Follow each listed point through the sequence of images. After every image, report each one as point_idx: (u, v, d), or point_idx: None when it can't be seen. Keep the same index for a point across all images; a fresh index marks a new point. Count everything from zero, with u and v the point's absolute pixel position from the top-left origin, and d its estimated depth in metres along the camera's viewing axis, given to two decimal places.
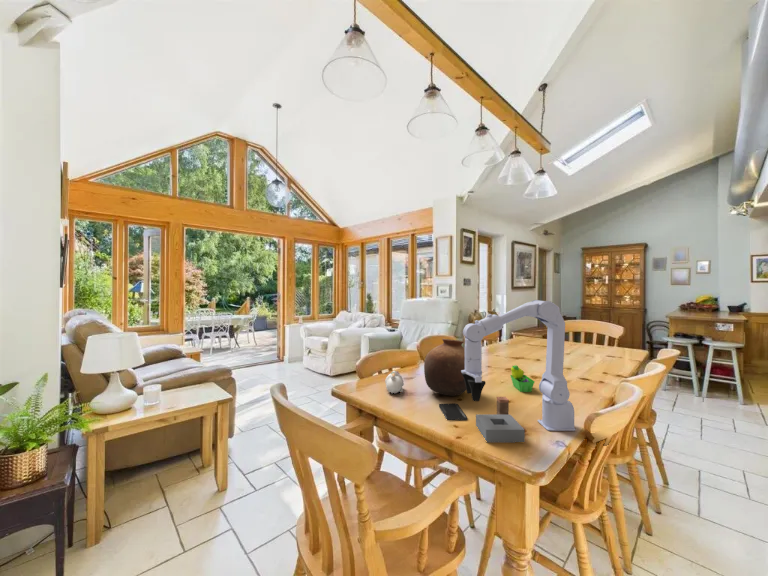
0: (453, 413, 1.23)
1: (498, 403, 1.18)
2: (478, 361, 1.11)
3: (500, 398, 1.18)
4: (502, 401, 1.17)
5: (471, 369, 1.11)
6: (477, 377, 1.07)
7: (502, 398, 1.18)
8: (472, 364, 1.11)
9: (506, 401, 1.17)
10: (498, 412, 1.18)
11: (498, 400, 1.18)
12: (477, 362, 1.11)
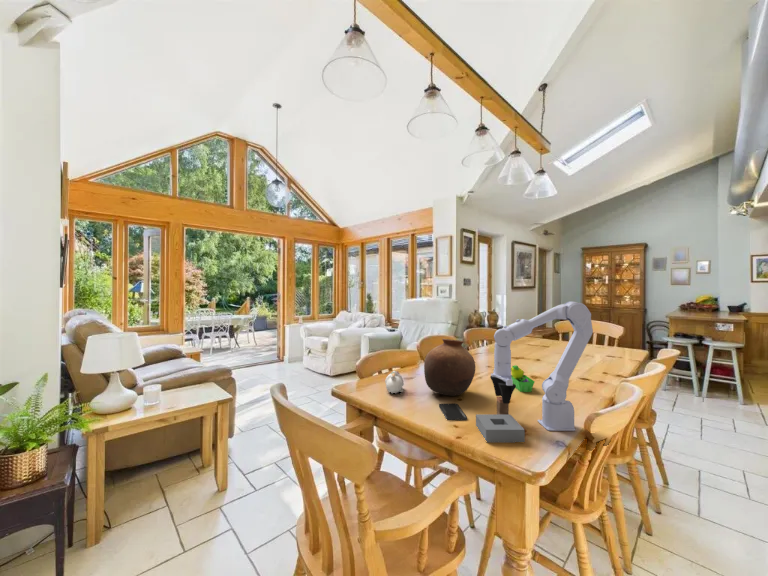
0: (453, 413, 1.23)
1: (498, 403, 1.18)
2: (508, 365, 1.16)
3: (500, 398, 1.18)
4: (502, 401, 1.17)
5: (501, 373, 1.16)
6: (508, 380, 1.11)
7: None
8: (503, 368, 1.16)
9: None
10: (498, 412, 1.18)
11: (498, 400, 1.18)
12: (507, 366, 1.16)
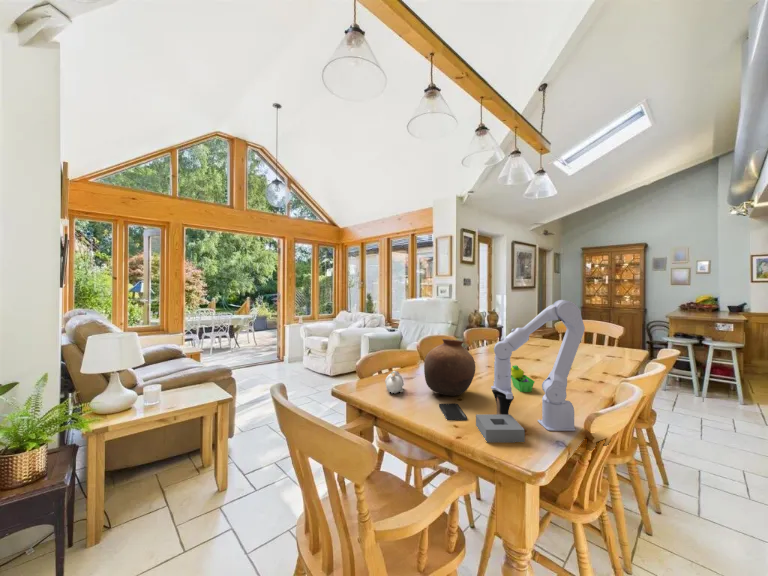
0: (453, 413, 1.23)
1: (498, 403, 1.18)
2: (508, 378, 1.16)
3: None
4: None
5: (501, 386, 1.16)
6: (508, 394, 1.11)
7: None
8: (503, 381, 1.16)
9: None
10: (498, 412, 1.18)
11: (498, 400, 1.18)
12: (507, 379, 1.16)
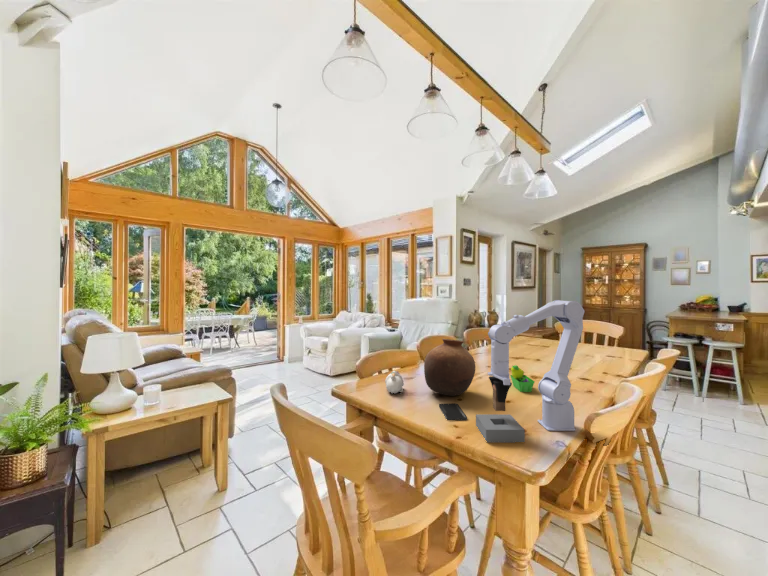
0: (453, 413, 1.23)
1: (494, 391, 1.11)
2: (506, 363, 1.08)
3: None
4: None
5: (498, 372, 1.08)
6: (505, 380, 1.04)
7: None
8: (500, 366, 1.08)
9: None
10: (494, 400, 1.11)
11: (494, 388, 1.11)
12: (505, 364, 1.08)
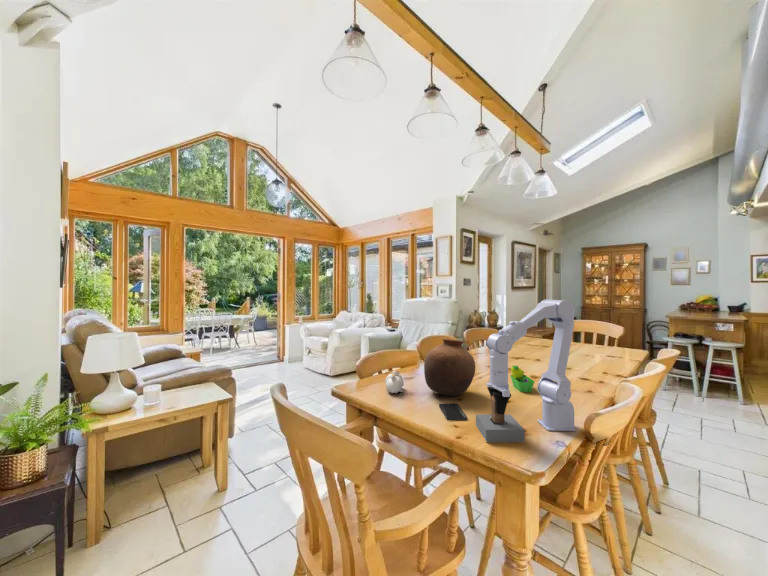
0: (453, 413, 1.23)
1: (493, 402, 1.07)
2: (505, 374, 1.05)
3: None
4: None
5: (497, 382, 1.05)
6: (505, 391, 1.00)
7: None
8: (499, 377, 1.05)
9: None
10: (493, 412, 1.07)
11: (493, 399, 1.07)
12: (504, 375, 1.05)
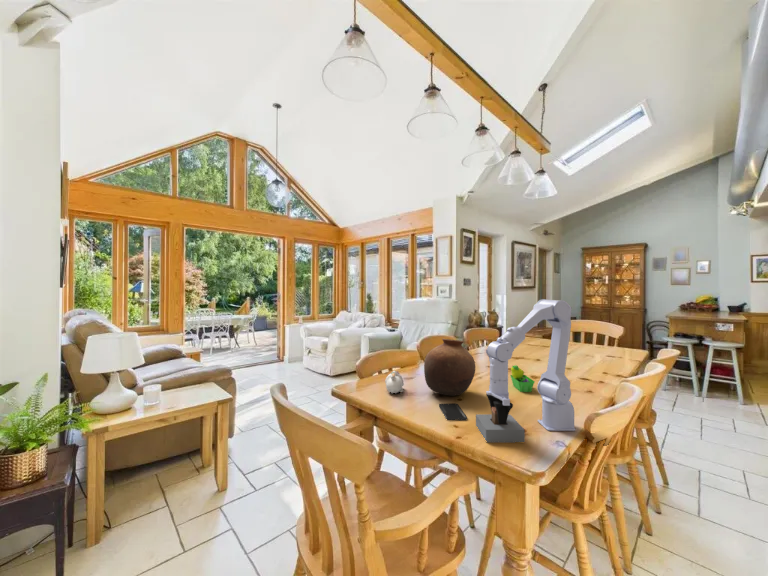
0: (453, 413, 1.23)
1: (493, 414, 1.07)
2: (505, 382, 1.05)
3: (495, 409, 1.07)
4: None
5: (497, 391, 1.05)
6: (505, 400, 1.00)
7: None
8: (499, 385, 1.05)
9: None
10: None
11: (493, 411, 1.07)
12: (504, 383, 1.05)
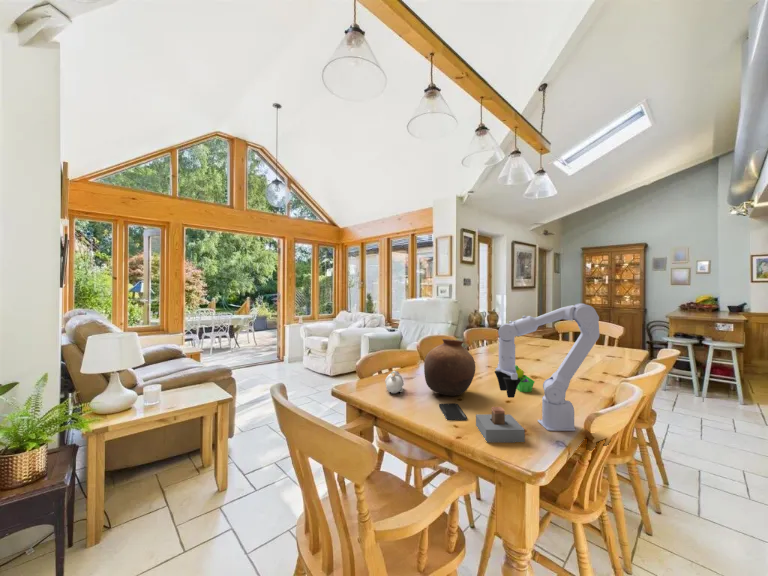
0: (453, 413, 1.23)
1: (493, 414, 1.07)
2: (512, 359, 1.17)
3: (495, 409, 1.07)
4: (497, 412, 1.06)
5: (506, 367, 1.17)
6: (513, 374, 1.12)
7: (497, 409, 1.07)
8: (507, 362, 1.16)
9: (502, 412, 1.06)
10: None
11: (493, 411, 1.07)
12: (512, 360, 1.16)
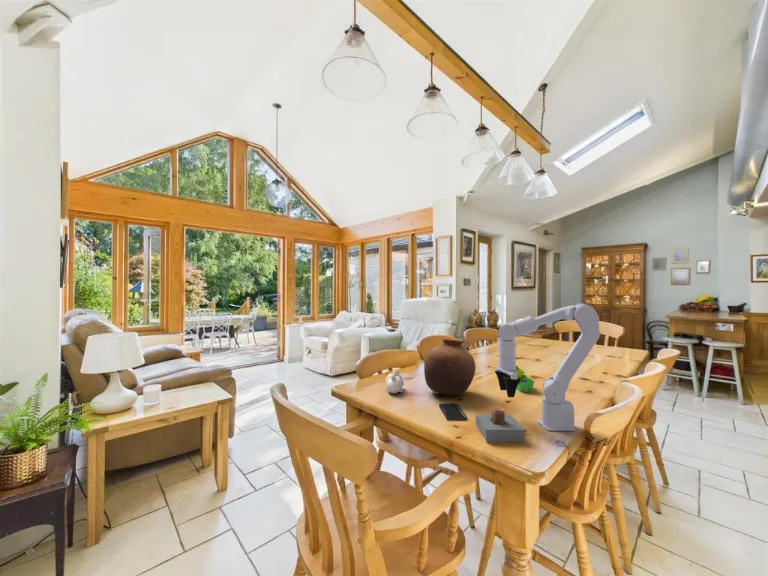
0: (453, 413, 1.23)
1: (493, 414, 1.07)
2: (513, 359, 1.17)
3: (495, 409, 1.07)
4: (497, 412, 1.06)
5: (506, 367, 1.17)
6: (513, 374, 1.12)
7: (497, 409, 1.07)
8: (507, 362, 1.17)
9: (502, 412, 1.06)
10: None
11: (493, 411, 1.07)
12: (512, 360, 1.17)
